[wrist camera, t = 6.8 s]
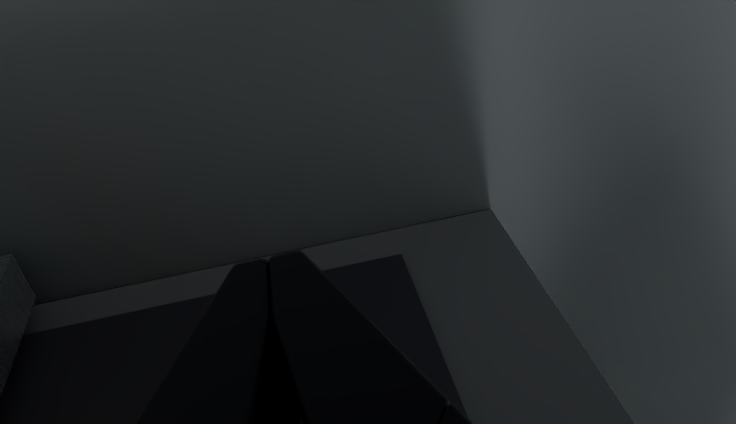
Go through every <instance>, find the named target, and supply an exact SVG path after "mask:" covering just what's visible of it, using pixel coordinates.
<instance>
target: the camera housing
mask: <svg viewBox="0 0 736 424" xmlns="http://www.w3.org/2000/svg"><path fill="white" fill-rule="evenodd" d="M300 251H302V252H304V253H305V254H306V255H307V256H308V257H309V258H310V259H311V260H312V261H313V262H314V263H315V264H316V265H317V266H318V267H319V268H320V269H321V270H322V271H323V273H324V274H325V275H326V276H327V277H328V278H329V279H330V280H331V281H332V282H333V283H334V284H335V285H336V286H337V287H338V288H339V289H340V290H341V291H342V292H343V293H344V294H345V295H346V296H347V297H348V298H349V299H350V300H351V301H352V302H353V303H354V304H355V305H356V306H357V307H358V308H359V309H360V310H361V311H362V312H363V313H364V314H365V315H366V316H367V317H368V318H369V319H370V320H371V321H372V322H373V323H374V324H375V325H376V326H377V327H378V328H379V329H380V330H381V331H382V332H383V333H384V334H385V335H386V336H387V337H388V338H389V339H390V340H391V341H392V342H393V343H394V344H395V345H396V346H397V347H398V348H399V349H400V350H401V351H402V352H403V353H404V355H405V356H406V357H407V358H408V359H409V360H410V361H411V362H412V363H413V364H414V365H415V366H416V367H417V368H418V369H419V370H420V371H421V372H422V373H423V374H424V375H425V376H426V377H427V378H428V379H429V380H430V381H431V382H432V383H433V384H434V385H435V386H436V387H437V388H438V389H439V390H440V391H441V392H442V393H443V394H444V395H445V396H446V397H447V398H448V399H449V401H450V404H454V405H455V406H456V407H457V408H458V409H459V410H460V411H461V412H462V413H463V414H464V415H465V416H466V417H467V418H468V419H469V420H470V421H471V422H472V423H473V424H634V423H633V422H632V420H631V419H630V417H629V416H628V414H627V413H626V411H625V410H624V408H623V407H622V405H621V404H620V402H619V401H618V399H617V398H616V396H615V395H614V393H613V392H612V390H611V389H610V387H609V386H608V384H607V383H606V381H605V380H604V378H603V377H602V375H601V374H600V372H599V371H598V369H597V368H596V366H595V365H594V363H593V362H592V360H591V359H590V357H589V356H588V354H587V353H586V351H585V350H584V348H583V347H582V345H581V344H580V342H579V341H578V339H577V338H576V336H575V335H574V333H573V332H572V330H571V329H570V327H569V326H568V324H567V323H566V321H565V320H564V318H563V317H562V315H561V314H560V312H559V311H558V309H557V308H556V306H555V305H554V303H553V302H552V300H551V299H550V297H549V296H548V294H547V293H546V291H545V290H544V288H543V287H542V285H541V284H540V282H539V281H538V279H537V278H536V276H535V275H534V273H533V272H532V270H531V269H530V267H529V266H528V264H527V263H526V261H525V260H524V258H523V257H522V255H521V254H520V252H519V251H518V249H517V248H516V246H515V245H514V243H513V242H512V240H511V239H510V237H509V236H508V234H507V233H506V231H505V230H504V228H503V227H502V225H501V224H500V222H499V221H498V219H497V218H496V216H495V215H494V213H493V212H492V210H491V209H489V210H484V211H480V212H475V213H470V214H466V215H461V216H456V217H451V218H447V219H442V220H437V221H432V222H428V223H423V224H418V225H413V226H409V227H404V228H399V229H394V230H390V231H385V232H380V233H375V234H371V235H366V236H361V237H357V238H352V239H347V240H342V241H338V242H333V243H328V244H323V245H319V246H314V247H309V248H304V249H300ZM290 252H291V251H290ZM285 253H286V252H285ZM281 254H282V253H281ZM276 255H277V254H276ZM271 256H273V255H271ZM271 256H267V257H262V258H265V259H267V260H268V262H269V259H270V257H271ZM257 259H259V258H257ZM252 260H254V259H252ZM248 261H250V260H248ZM243 262H245V261H243ZM238 263H241V262H238ZM235 264H237V263H233V264H229V265H224V266H219V267H214V268H210V269H205V270H200V271H195V272H191V273H186V274H181V275H177V276H172V277H167V278H162V279H158V280H153V281H148V282H143V283H139V284H134V285H129V286H124V287H120V288H115V289H110V290H105V291H101V292H96V293H91V294H87V295H82V296H77V297H72V298H68V299H63V300H58V301H53V302H49V303H44V304H39V305H34V306H33V307H32V310H31V313H30V316H29V319H28V322H27V324H26V327H25V330H24V333H23V336H22V338H21V341H20V344H19V347H18V350H17V353H16V355H15V358H14V361H13V364H12V367H11V370H10V372H9V375H8V378H7V381H6V384H5V387H4V389H3V392H2V395H1V398H0V424H136V422H137V421H138V419H139V418H140V416H141V414H142V413H143V411H144V409H145V408H146V406H147V405H148V403H149V401H150V400H151V398H152V396H153V395H154V393H155V392H156V390H157V388H158V387H159V385H160V383H161V382H162V380H163V379H164V377H165V375H166V374H167V372H168V370H169V369H170V367H171V366H172V364H173V362H174V361H175V359H176V357H177V356H178V354H179V353H180V351H181V349H182V348H183V346H184V344H185V343H186V341H187V340H188V338H189V336H190V335H191V333H192V331H193V330H194V328H195V327H196V325H197V323H198V322H199V320H200V318H201V317H202V315H203V314H204V312H205V310H206V309H207V307H208V305H209V304H210V302H211V301H212V299H213V297H214V296H215V294H216V292H217V291H218V289H219V288H220V286H221V284H222V283H223V281H224V279H225V278H226V276H227V275H228V273H229V271H230V270H231V268H232V267H233V266H234V265H235ZM301 424H302V423H301Z"/></svg>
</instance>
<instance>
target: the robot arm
mask: <svg viewBox="0 0 736 424" xmlns="http://www.w3.org/2000/svg"><path fill="white" fill-rule="evenodd" d="M301 423H302V424H473V423H472V422H471V421H470V420H469V419H468V418H467V417H466V416H465V415H464V414H463V413H462V412H461V411H460V410H459V409H458V408H457V407H456V406H455V405H454V404H450V401H449V399H448V398H447V397H446V396H445V395H444V394H443V393H442V392H441V391H440V390H439V389H438V388H437V387H436V386H435V385H434V384H433V383H432V382H431V381H430V380H429V379H428V378H427V377H426V376H425V375H424V374H423V373H422V372H421V371H420V370H419V369H418V368H417V367H416V366H415V365H414V364H413V363H412V362H411V361H410V360H409V359H408V358H407V357H406V356H405V355H404V353H403V352H402V351H401V350H400V349H399V348H398V347H397V346H396V345H395V344H394V343H393V342H392V341H391V340H390V339H389V338H388V337H387V336H386V335H385V334H384V333H383V332H382V331H381V330H380V329H379V328H378V327H377V326H376V325H375V324H374V323H373V322H372V321H371V320H370V319H369V318H368V317H367V316H366V315H365V314H364V313H363V312H362V311H361V310H360V309H359V308H358V307H357V306H356V305H355V304H354V303H353V302H352V301H351V300H350V299H349V298H348V297H347V296H346V295H345V294H344V293H343V292H342V291H341V290H340V289H339V288H338V287H337V286H336V285H335V284H334V283H333V282H332V281H331V280H330V279H329V278H328V277H327V276H326V275H325V274H324V273H323V271H322V270H321V269H320V268H319V267H318V266H317V265H316V264H315V263H314V262H313V261H312V260H311V259H310V258H309V257H308V256H307V255H306V254H305V253H304V252H302V251H300V250H295V251H291V252H286V253H282V254H277V255H273V256H271V257H270V259H269V262H268V260H267V259H265V258H259V259H254V260H250V261H245V262H241V263H237V264H235V265H234V266H233V267H232V268H231V270H230V271H229V273H228V275H227V276H226V278H225V279H224V281H223V283H222V284H221V286H220V288H219V289H218V291H217V292H216V294H215V296H214V297H213V299H212V301H211V302H210V304H209V305H208V307H207V309H206V310H205V312H204V314H203V315H202V317H201V318H200V320H199V322H198V323H197V325H196V327H195V328H194V330H193V331H192V333H191V335H190V336H189V338H188V340H187V341H186V343H185V344H184V346H183V348H182V349H181V351H180V353H179V354H178V356H177V357H176V359H175V361H174V362H173V364H172V366H171V367H170V369H169V370H168V372H167V374H166V375H165V377H164V379H163V380H162V382H161V383H160V385H159V387H158V388H157V390H156V392H155V393H154V395H153V396H152V398H151V400H150V401H149V403H148V405H147V406H146V408H145V409H144V411H143V413H142V414H141V416H140V418H139V419H138V421H137V422H136V424H301Z"/></svg>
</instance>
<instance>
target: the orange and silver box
mask: <svg viewBox="0 0 736 424" xmlns="http://www.w3.org/2000/svg"><path fill="white" fill-rule="evenodd" d="M35 299H36V296H35V294H34V292H33V291H32V289H31V287H30V285H29V283H28V281H27V279H26V277H25V276H24V274H23V272H22V270H21V268H20V266H19V264H18V263H17V261H16V259H15V257H14V255H13V253H12V254H7V255H2V256H0V398H1V395H2V392H3V389H4V387H5V384H6V381H7V378H8V375H9V372H10V370H11V367H12V364H13V361H14V358H15V355H16V353H17V350H18V347H19V344H20V341H21V338H22V336H23V333H24V330H25V327H26V324H27V322H28V319H29V316H30V313H31V310H32V307H33V305H34V302H35Z"/></svg>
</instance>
